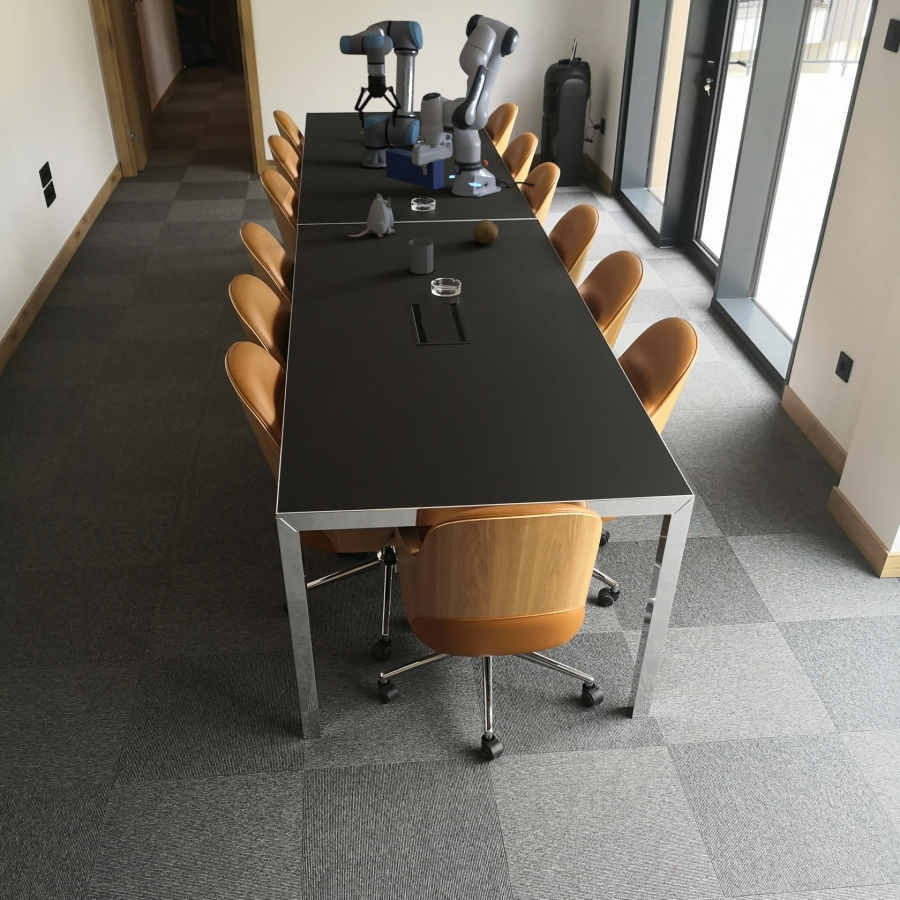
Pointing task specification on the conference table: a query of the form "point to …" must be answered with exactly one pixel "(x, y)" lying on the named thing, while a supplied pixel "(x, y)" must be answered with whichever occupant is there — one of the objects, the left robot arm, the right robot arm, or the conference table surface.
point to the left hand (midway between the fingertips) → (378, 126)
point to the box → (413, 169)
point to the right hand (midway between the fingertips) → (432, 172)
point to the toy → (379, 218)
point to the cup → (421, 256)
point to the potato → (485, 232)
